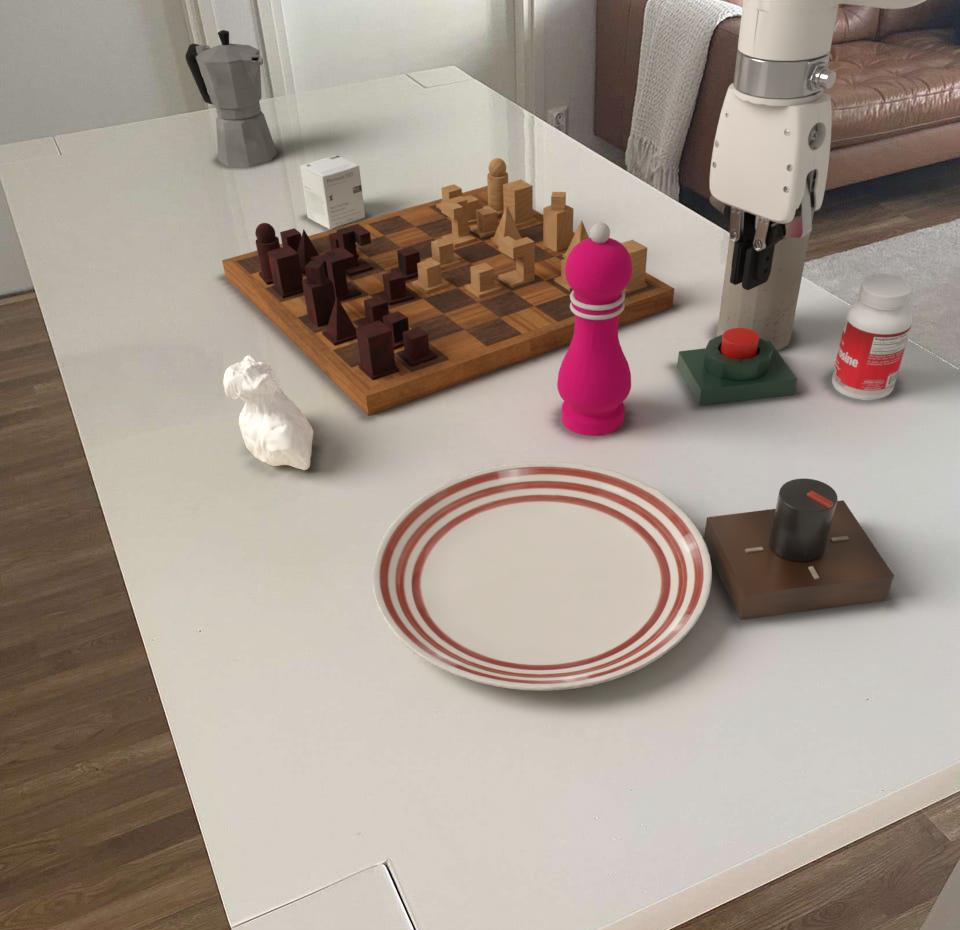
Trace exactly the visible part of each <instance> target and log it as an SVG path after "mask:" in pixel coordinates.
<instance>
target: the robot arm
mask: <svg viewBox="0 0 960 930" xmlns="http://www.w3.org/2000/svg"><path fill="white" fill-rule="evenodd" d="M925 2H927V0H742V9H741V16H740V26H739V32H738V33H739V34H738V42H737V49H736V59H735V65H734V69H735V70H734V76H733V82H732V83H730V84H729V86H728V88H727V90H726V93H725V97H724V100H723V103H722V107H721V110H720V114H719V118H718V123H717V128H716V132H715V137H714V141H713V148H712V154H711V161H710V168H709V169H710V170H709V192H710V196H709V204H710V205H711V206H712V207H713V208H715V209H716V210H717V211H718V212H720V213H721V214H723V217H724V219H725V221H726V224H727V225H728V227H729V233H728V235H729V237H730V239H731V240H732V241H733V242H735V243H734V250H733V258H732V265H731V268H732V269H731V276H730V283H732V284H734V285H737V284H739V283H742V287H743V289H746V290H750V289H752V288H754V287H757V286H759V285H761V284H763V283H765V282H767V280H768V278H769V275H770V272H771V267H772V260H773V254H774V248H775V244H777V243H779V242H781V241H782V239H784V238H785V237H786V238H800V237H803V236H805V235H807V234H809V233H810V234H811V233H812V231H813V219H811V212H814V213H815V212H817V211H819V210H820V209H821V207H822V205H823V201H824V196H825V192H826V184H827V180H828V172H829V171H828V170H829V162H830V155H831V143H832V125H833V124H832V120H833V119H832V116H833V115H832V113H833V112H832V97H831V94H828V93H826V92H824V90H826V89H827V90H830V89H832V88H833V87H834V85H835V83H836V81H837V72H836V71H835V70H833V69H830V68H829V64H830V58H831V47H832V42H833V37H834V32H835V25H836V20H837V15H838V10H839V4H842V5H851V6H852V5H854V6H861V7H868V8H874V9H875V8H876V9H877V8H878V9H883V10H901V9H908V8H912V7H916V6H918V5H921V4H922V3H925ZM771 224H772V225H771Z"/></svg>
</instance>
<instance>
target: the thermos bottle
mask: <svg viewBox="0 0 960 930" xmlns="http://www.w3.org/2000/svg"><path fill="white" fill-rule="evenodd" d="M814 213H815V212H811V219H812V220H813V218H814ZM771 225H772V224H771ZM810 235H811V233H809V234H807V235H805V236H803V237H800V238H786V237H785V238H784V239H782V241H781V242H779V243H777V244H775V248H774V254H773V260H772V267H771V272H770V275H769V278H768V280H767V282H765V283H763V284H761V285H759V286H757V287H754V288H752V289H750V290H746V289H743V287H742V283H739V284H737V285H734V284H732V283H730V276H731V269H732V268H731V265H732V258H733V250H734V243H735V242H733V241H732V240H731V239H730V236H728V237H729V238H728V246H727V254H726V260H725V261H726V262H725V269H724V277H723V286H722V292H721V299H720V307H719V316H718V323H717V330H716V331H717V332H716V337H718V336H720V335H723V333H724V332H725V331H727V330H729V329H732V328H747V329H750V330H753V331H755V332H756V333H757V334H758V336H759V338H761V339H763V340H765V341H770V342H771V343H772V345H773V346H774V347H775V349H776V350H777V352H778V351H781V350H782V349H784V348H786V347H787V346H788V345H789V344H790V341H791V339H792V332H793V328H794V322H795V317H796V310H797V305H798V301H799V294H800V289H801V285H802V279H803V273H804V268H805V263H806V262H805V261H806V256H807V251H808V245H809V241H810V240H809V239H810Z"/></svg>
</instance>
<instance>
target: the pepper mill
mask: <svg viewBox="0 0 960 930" xmlns="http://www.w3.org/2000/svg"><path fill="white" fill-rule="evenodd" d="M610 236H611V229H610V227H609V225H607V224H606V222H603V221H599V222H596V223H594V224H593V225H592V226H591V227H590V230H589V238H588V239H585V240H583V241H581V242H580V243H578V244H577V245H576V246H575V247H574V248H573V249H572V250H571V252H570V253H569V255H568V258H567V261H566V267H565V276H566V280H567V282H568V284H569V286H570V287H571V288H572V290H573V291H572V292H571V294H570V300H571V303H570V309H571V311H572V312H573V313H574V314H575V329H574V335H573V339H572V342H571V344H569V346H568V349H567V351H566V352H565V355H564V357H563V359H562V360H561V363H560V366H559V370H558V374H557V381H556V388H557V392H558V394H559V396H560V398H561V399H562V400H563V403H561V422H562V424H563V427H565V428H566V429H567V430H569V431H570V432H572V433H575V434H577V435H580V436H586V437H587V436H588V437H596V436H597V437H598V436H605V435H609V434H613V433H614V432H616V431H618V430H619V429H620V428H621V427H622V426H623V424H624V422H625V409H626V408H625V403H624V401H625V400H626V399H627V398H628V396H629V395H630V393H631V389H632V374H631V373H632V372H631V369H630V365H629V362H628V360H627V358H626V356H625V354H624V351H623V349H622V346H621V342H620V339H619V326H618V319H619V314H620V313H621V312H622V311H623V310H624V306H625V305H624V299H625V294H624V292H623V290H624V289H625V288H626V286H627V285H628V283H629V282H630V279H631V276H632V261H631V257H630V254H629V253H628V251H627V249H626V248H625V247H624V246H623V245H622V244H621V243H622V242H620V241H619V240H617V239H614V238H611V237H610Z"/></svg>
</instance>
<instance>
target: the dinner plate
mask: <svg viewBox="0 0 960 930" xmlns="http://www.w3.org/2000/svg"><path fill="white" fill-rule="evenodd" d="M712 579H713V570H712V559H711V557H710V555H709V552H708V548H707V546H706V543H705V541H704V536H702V533H701V532H700V530H699V528H698V527H697V526H696V524H695V523H694V521H693V520H692V519H691V518H690V517H689V516H688V514H687V513H686V512H685V511H684V510H683V509H682V508H681V507H680V506H678V504H676V502H674V501H673V500H671V498H669V497H668V496H667V495H665V494H663V493H662V492H660V491H658V490H657V489H655V488H653V487H652V486H650V485H648V484H647V483H644V482H642V481H640V480H639V479H636V478H634V477H631V476H629V475H627V474H624V473H620V472H618V471H614V470H610V469H607V468H604V467H600V466H599V467H598V466H593V465H589V464H583V463H575V462H563V461H526V462H525V461H524V462H516V463H509V464H508V463H507V464H501V465H497V466H496V465H495V466H491V467H487V468H483V469H480V470H475V471H472V472H470V473H466V474H463V475H460V476H458V477H456V478H453V479H451V480H449V481H448V480H447V481H446V482H444V483H442V484H440V485H438V486H436V487H434V488H432V489H431V490H429V491H428V492H426V493H424V494H423V495H421V496H419V497H418V498H417V499H415V500H414V501H413V502H411V504H409V505H408V506H407V507H405V509H404V510H402V511H401V513H400V514H399V515H398V516H397V517H396V518H395V519H394V520H393V522H392V523H391V524H390V526H389V527H388V528H387V530H386V531H385V533H384V535H383V537H382V539H381V540H380V542H379V545H378V547H377V550H376V553H375V557H374V561H373V568H372V589H373V590H372V591H373V594H374V600H375V603H376V606H377V608H378V610H379V613H380V615H381V616H382V619H383V620H384V621H385V623H386V625H387V626H388V628H389V629H390V630H391V631H392V633H393V634H394V635H395V636H396V637H397V638H398V639H399V640H400V641H401V642H402V644H403V645H404V646H406V647H407V648H408V649H409V650H410V651H412V652H413V653H414V654H415V655H417V656H419V657H420V658H422V659H423V660H425V662H428V663H429V664H431V665H432V666H435V667H436V668H438V669H441V670H443V671H444V672H447V673H449V674H452V675H455V676H457V677H459V678H462V679H465V680H469V681H472V682H476V683H478V684H483V685H488V686H493V687H497V688H504V689H512V690H522V691H539V692H540V691H541V692H543V691H562V690H563V691H564V690H572V689H573V690H574V689H580V688H588V687H591V686H596V685H599V684H603V683H608V682H611V681H614V680H617V679H620V678H622V677H625V676H627V675H630V674H632V673H634V672H637V671H640V670H641V669H643V668H645V667H646V666H648V665H650V664H651V663H653V662H655V661H657V660H658V659H660V658H661V657H663V656H665V654H668V652H670V651H671V650H672V649H673V648H674V647H676V646H677V645H678V644H679V643H680V642H681V641H682V640H683V639H684V638H686V636H687V635H688V634H689V633H690V631H691V630H692V628H694V626H695V625H696V624H697V623H698V620H699V619H700V617H701V616H702V613H703V612H704V610H705V607H706V605H707V603H708V599H709V597H710V593H711V588H712V581H713V580H712Z"/></svg>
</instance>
